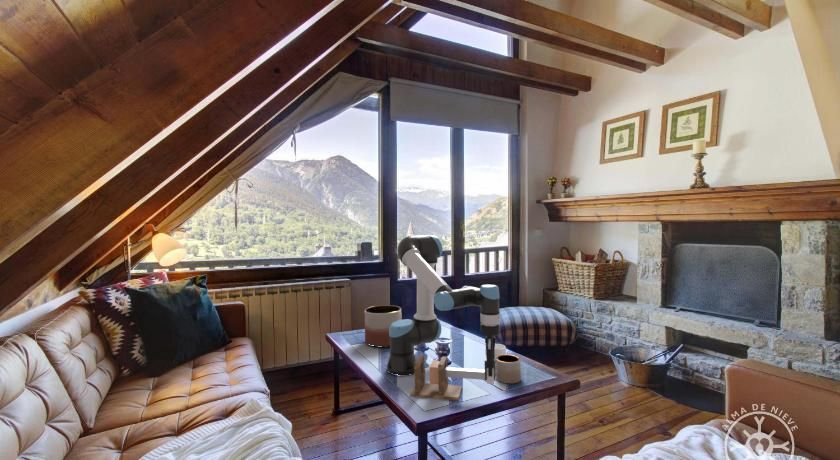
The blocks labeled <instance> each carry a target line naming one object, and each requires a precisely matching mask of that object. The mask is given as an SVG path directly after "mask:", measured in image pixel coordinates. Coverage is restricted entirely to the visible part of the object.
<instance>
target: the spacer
mask: <svg viewBox="0 0 840 460" xmlns="http://www.w3.org/2000/svg"><path fill="white" fill-rule="evenodd" d="M439 362H440V361H439V360H432V361H431V363H430V365H429V367H428V372H429V373H428V374H429V384H438V385H439V379H438V364H439Z"/></svg>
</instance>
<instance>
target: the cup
mask: <svg viewBox="0 0 840 460" xmlns="http://www.w3.org/2000/svg"><path fill="white" fill-rule="evenodd" d="M506 349H507V347H506V346H505V345H504V344H500V343H495V360H496V357H497V356H499V355H504V354H506ZM485 355H486V350H485ZM495 371H496V362H495Z"/></svg>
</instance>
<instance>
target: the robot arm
mask: <svg viewBox="0 0 840 460" xmlns="http://www.w3.org/2000/svg"><path fill="white" fill-rule="evenodd" d="M443 250H444V249H443V244H442V242H441V240H440V238H439V237H438V236H436V235H434V234H433V235H431V234H421V235H409V236H405V237H404V238H402V239H401V240H400V241H399V243H398V245H397V251H396V253H397V258H398V259H399V261H400V262H401V263H402V265H403V266H405V267H408V269H410V271H412V273H413V274H414V275H415V276H416V313H414V315H413V319H407V318H406V319H402V320H398V321H395V322H393V323H392V324H391V325H390V329H389V336H390V347H389V357H388V361H387V364H386V372H387V371H389V372H390V373H393V374H398V375H407V376H410V375H409V374H411V375H414V374H415V372H414V363H415V361H416V360H417V358H416V355H415V347H416V346H420V345H424V344H431V343H432V342H436V341H438V339H439V338H440V336H441V334H442V324H441V321H440V320H439V319H438V318H437V317H438V316H437V315H436V313H435V311H434V310H435V309H437V310H438V311H441V312H443V311H451V310H455V309H461V308H466V307H471V306H475V307H478V308H479V309H480V313H479V314H480V333H481V334H482V335H484V336H485V339H484V343H485V351H486V354H485V357H486V359H487V366H485V365H484V369H485V368H487V381H486V384H489V385H494V384H495V381H494V366H493V358H495V344H496V341H497V339H496V336H498V335H499V334H500V332H501V329H500V328H501V327H500V325H501V324H500V319H502V316H501V315H500V289H499V286H498V285H496V284H488V283H487V284H482V285H480V287H476V286H472V285H464V286H462V287H461V288H458V289H453V288H452V287H450V285H449V284H447V282H446V281H445V280H444V279H443V278H442V277H441V275H439V274H438V273H437V272H436V270H435V266H436V265H437V264H438V259H439V258H441V256H442V254H443ZM434 306H435V307H434ZM495 362H496V360H495ZM413 373H414V374H413Z"/></svg>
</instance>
